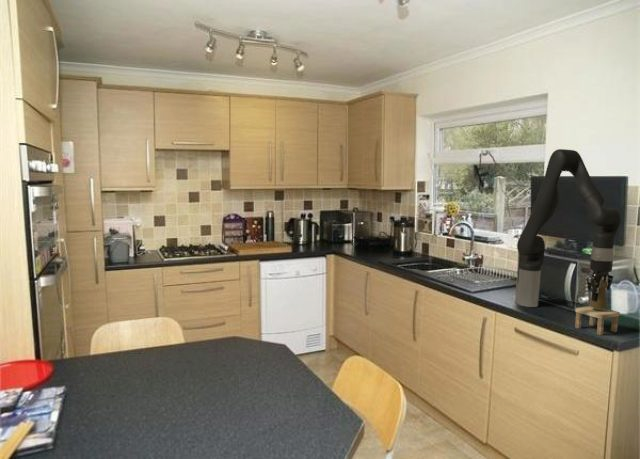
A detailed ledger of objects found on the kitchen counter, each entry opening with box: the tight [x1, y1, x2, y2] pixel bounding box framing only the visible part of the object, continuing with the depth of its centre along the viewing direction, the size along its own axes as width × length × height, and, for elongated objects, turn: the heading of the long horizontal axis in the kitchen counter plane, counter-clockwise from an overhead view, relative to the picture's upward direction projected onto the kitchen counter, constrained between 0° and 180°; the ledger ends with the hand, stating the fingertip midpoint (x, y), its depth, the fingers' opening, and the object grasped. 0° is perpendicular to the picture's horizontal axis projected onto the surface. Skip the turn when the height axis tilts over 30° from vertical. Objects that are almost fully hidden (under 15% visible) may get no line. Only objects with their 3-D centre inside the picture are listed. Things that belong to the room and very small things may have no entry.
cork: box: [588, 280, 607, 309], centre depth 185 cm, size 6×6×11 cm
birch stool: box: [574, 305, 621, 336], centre depth 186 cm, size 11×11×8 cm
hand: (598, 301), depth 186 cm, fingers closed on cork, 3 cm apart
